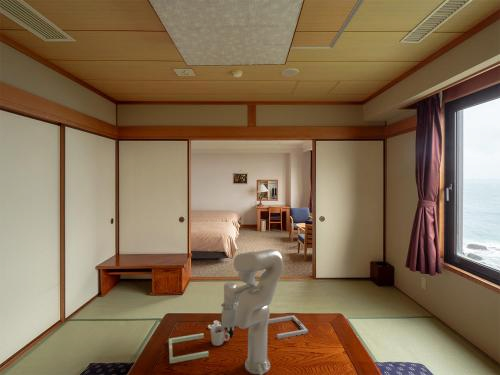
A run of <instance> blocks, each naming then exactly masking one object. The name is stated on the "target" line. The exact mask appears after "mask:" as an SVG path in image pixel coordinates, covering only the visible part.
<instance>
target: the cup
mask: <svg viewBox="0 0 500 375" xmlns="http://www.w3.org/2000/svg"><path fill="white" fill-rule="evenodd" d="M226 336H227V338H226ZM210 337H211V344H212V345H213V346H218V347H219V346H221V345H223V344H224V342H227V341H229V340H230V338H229V337H230V335H229V333H228V332H227V331H226V329H225V328H221V326H219V325H218V326H214V327H212V328H211V329H210Z"/></svg>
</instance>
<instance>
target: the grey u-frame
mask: <svg viewBox="0 0 500 375" xmlns="http://www.w3.org/2000/svg"><path fill="white" fill-rule="evenodd" d="M288 321H295V322H296V323H297V324H298V325H299V326H300V327H299V326H298V325H297V324H296V323H295V322H294V323H295V324H296V325H297V326H298V327H299V328H300V329H299V330H298V329H297V330H294V331H288V332H281V333H277V334H276V339H278V340H279V339H280V340H281V339H285V338H291V337H296V335H297V336H302V335H301V334H303V335H307V334H306V333H308V334H309V330H308V328H306V326H305V325H304V324H303V322H302V321H301V320H299V319H298V318H297V317H296V316H295V315H287V316H279V317H275V318H269V321H268V325H270V324H273V323H280V322H288Z"/></svg>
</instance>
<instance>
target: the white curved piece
mask: <svg viewBox="0 0 500 375" xmlns="http://www.w3.org/2000/svg"><path fill="white" fill-rule="evenodd" d="M221 324H222V323H221V322H220V321H219V320H213V324H208V325H207V328H208V329H209V330H211V328H212V327H214V326H221Z"/></svg>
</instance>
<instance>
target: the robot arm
mask: <svg viewBox="0 0 500 375" xmlns="http://www.w3.org/2000/svg"><path fill="white" fill-rule="evenodd" d="M232 264H233V268H234V270H235V271H236V272H238V274H237V275H238V276H237V278H239V280H240V281H241V282H243V283H245V285H244V284H243V285H240V286H238V285H237V283H236V282H233V281H229V282H226V283H224V285H223V303H221V305H220V306H221V307H222V310H221V316H220V317H221V319H220V320H221V321H220V323H221V324H220V325H221V328H225V331H226V332H228V333H229V335H230V337H229V339H233V336H234V331H235V329H236V328H237V327H238V328H240V329H248V330H247V331H248V332H247V334H248V335H247V358H246V360H245V362H244V368H245V370H246V371H247V372H249V373H250V374H253V375H264V374H265V373H268V372H269V371H270V369H271V362H270V360H269V359H268V327H269V324H268V321H269V319H270V315H271V314H270V313H271V312H270V311H271V310H270V307H269V305H270V304H271V303H272V301H273V300H272V299H273V298H274V295H275V293H276V288H277V285H278V283H279V281H280V279H281V277H282V274H283V271H284V259H283V256H282V254H281V253H280V251H278V250H276V249H272V248H271V249H264V250H260V251H259V250H258V251H246V252H242V253H238V254H236V255H235V256H234V259H233V263H232ZM259 271H263V273H262V274H261V276H260V277H259V280H258V284H257V282H256V278H255V277H256V275H257V272H259Z"/></svg>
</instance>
